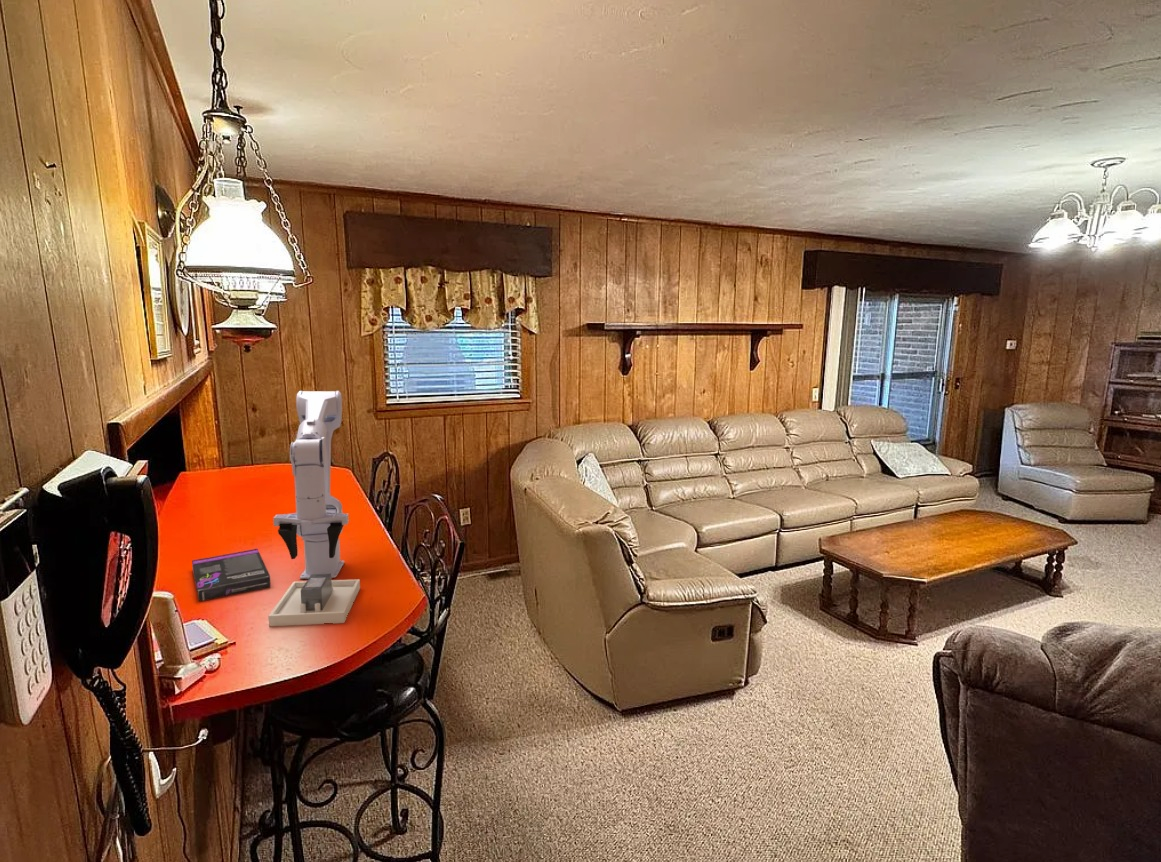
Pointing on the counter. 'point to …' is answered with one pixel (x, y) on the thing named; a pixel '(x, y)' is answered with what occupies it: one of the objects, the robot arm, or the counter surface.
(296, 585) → the tray
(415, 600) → the counter surface
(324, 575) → the block
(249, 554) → the box
